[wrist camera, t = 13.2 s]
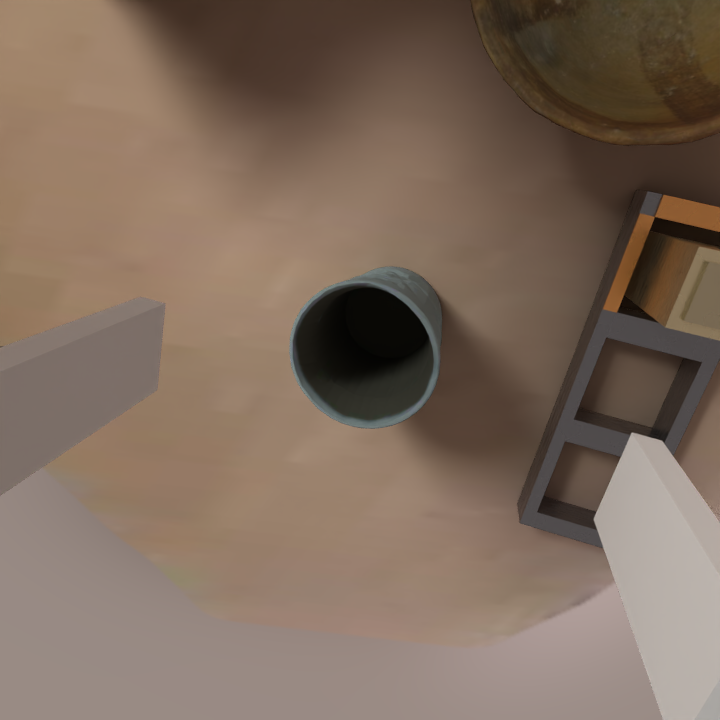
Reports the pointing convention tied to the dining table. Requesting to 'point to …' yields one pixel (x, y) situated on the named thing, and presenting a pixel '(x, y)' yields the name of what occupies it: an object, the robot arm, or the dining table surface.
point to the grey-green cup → (369, 347)
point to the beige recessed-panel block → (678, 284)
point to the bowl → (611, 64)
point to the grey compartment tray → (599, 326)
